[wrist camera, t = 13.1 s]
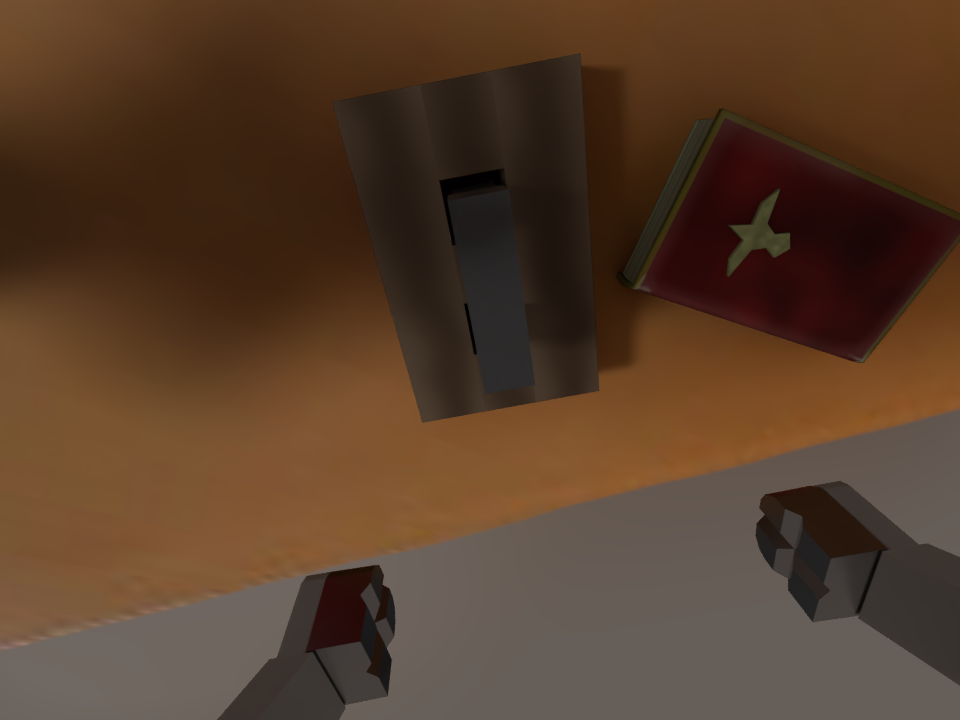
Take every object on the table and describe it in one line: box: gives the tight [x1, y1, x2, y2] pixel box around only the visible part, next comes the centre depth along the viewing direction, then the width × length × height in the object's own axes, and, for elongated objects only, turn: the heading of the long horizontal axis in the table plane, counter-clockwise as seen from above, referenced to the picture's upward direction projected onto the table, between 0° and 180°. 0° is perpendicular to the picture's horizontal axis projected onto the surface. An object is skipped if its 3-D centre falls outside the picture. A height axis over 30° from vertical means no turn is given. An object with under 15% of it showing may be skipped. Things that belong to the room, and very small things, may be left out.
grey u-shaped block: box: [448, 178, 535, 394], centre depth 28 cm, size 3×11×10 cm, turn 10°
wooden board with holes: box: [332, 53, 599, 423], centre depth 31 cm, size 14×22×4 cm, turn 10°
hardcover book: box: [616, 109, 960, 363], centre depth 32 cm, size 12×21×4 cm, turn 72°
